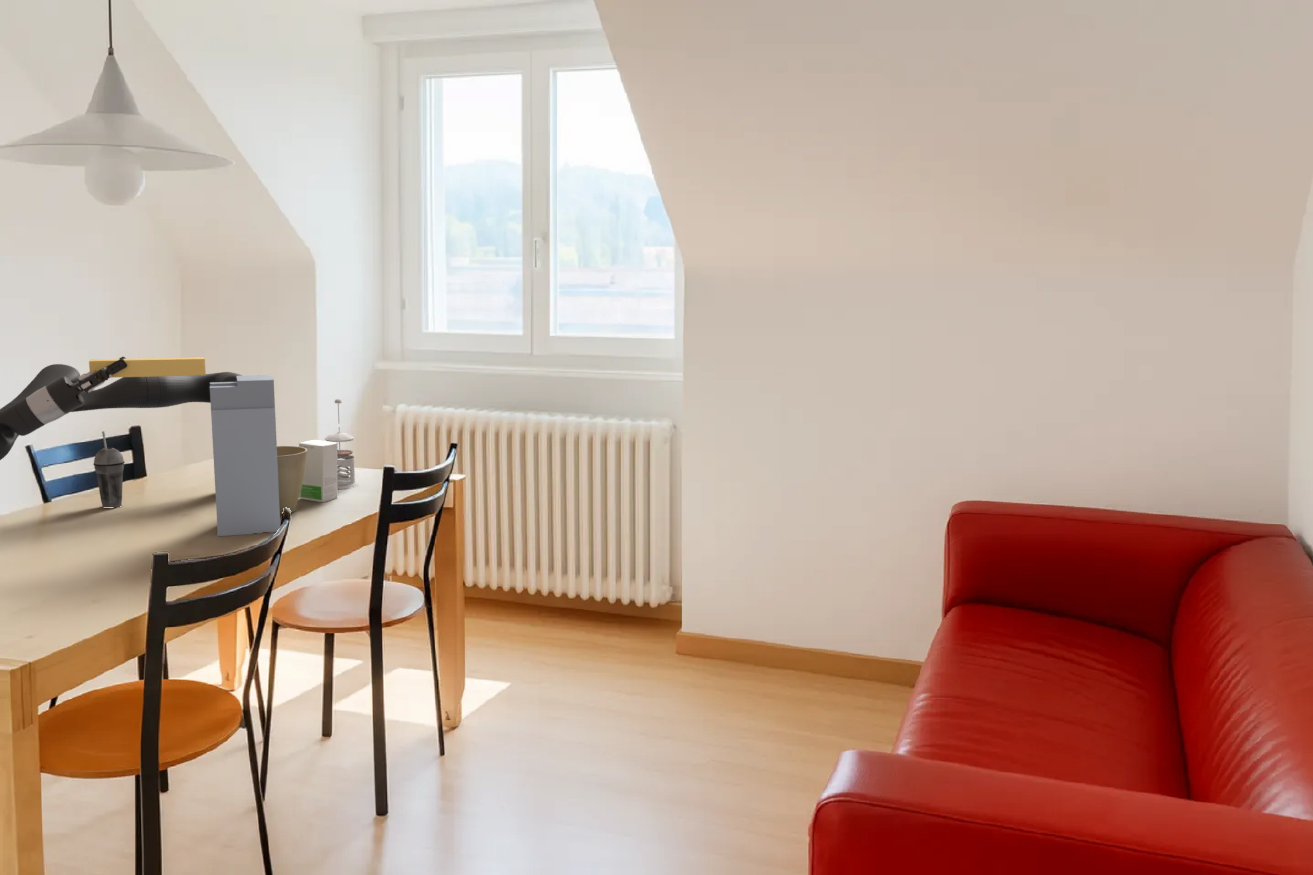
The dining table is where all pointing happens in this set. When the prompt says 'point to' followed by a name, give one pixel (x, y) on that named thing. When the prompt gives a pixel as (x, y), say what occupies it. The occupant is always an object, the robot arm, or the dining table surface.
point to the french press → (343, 479)
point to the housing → (245, 455)
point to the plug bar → (154, 366)
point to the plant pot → (290, 475)
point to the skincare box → (320, 471)
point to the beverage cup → (109, 475)
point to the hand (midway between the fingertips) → (125, 361)
